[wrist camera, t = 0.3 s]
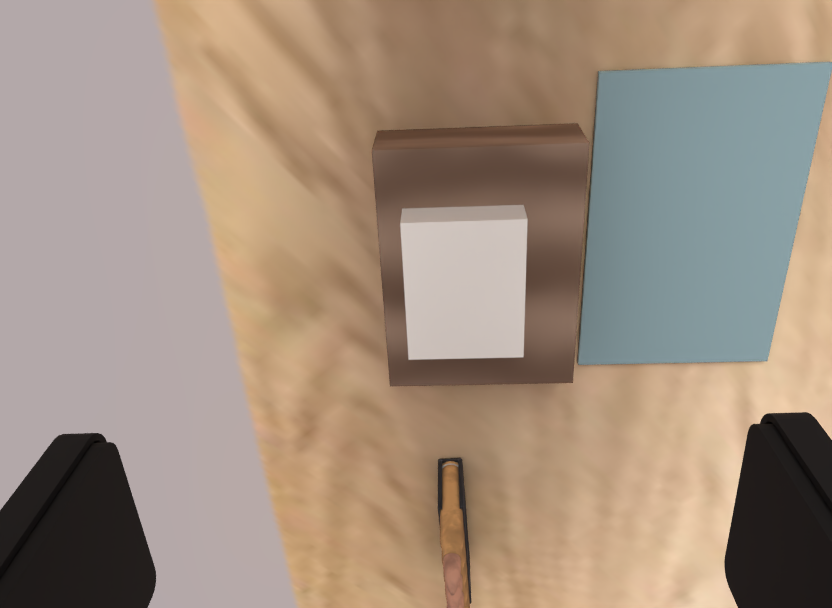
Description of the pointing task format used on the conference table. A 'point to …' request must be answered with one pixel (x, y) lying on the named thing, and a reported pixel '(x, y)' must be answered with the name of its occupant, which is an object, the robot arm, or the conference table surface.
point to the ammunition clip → (454, 533)
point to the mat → (695, 209)
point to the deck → (490, 186)
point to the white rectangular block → (464, 281)
